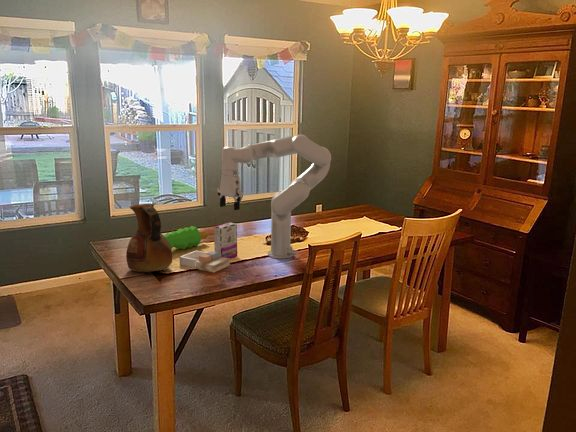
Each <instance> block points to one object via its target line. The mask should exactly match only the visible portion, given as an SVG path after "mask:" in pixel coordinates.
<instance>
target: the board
mask: <svg viewBox="0 0 576 432" xmlns="http://www.w3.org/2000/svg"><path fill="white" fill-rule="evenodd" d="M229 266H231V258H230V259H229V258H224V257H219V256H218V258H216V259H213V260H212V259H211V261H209V262H206V263H205V262H200V261H197V262H196V268H195V269H196V270H201V271H205V272H208V273H209V272H210V273H216V272H219V271H221V270H223V269H224V268H227V267H229Z"/></svg>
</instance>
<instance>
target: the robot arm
mask: <svg viewBox="0 0 576 432" xmlns="http://www.w3.org/2000/svg"><path fill="white" fill-rule="evenodd" d="M295 154H296V155H298V156H300V157H302V158H303V159H305V160H306V161H309V163H312V164H311V165H310V166H309V167H308V168H307V169H306V170H305V171H304V172H302V173H301V174H300V175H299V176H297V177H296V178H295V179H293V180H291V182H290V184H289V186H288V187H287V188H286V189H284V190H282V191H277V192H275V193H274V194H273V196H272V197H271V202H270V208H271V214H270V215H271V219H270V220H271V221H270V223H271V224H270V225H271V226H270V250H269V251H268V252H267V256H268V257H270V258H272V259H278V260H279V259H281V260H282V259H290V258H292V257H293V256H296V255H297V254H298V252H297V251H298V250H297V249H293V246H292V245H291V234H292V233H291V231H292V230H291V228H292V227H291V225H292V211H293V210H294V209H295V208H297V207H298V206H300V204H302V203H303V202H304V201H305V200H306V199H308V197H309V195H310V191H312V190H313V189H314V188H316V186H318V184H319V183H321V182H322V181H323V180H324V179H325V177H326V176H327V175H328V173H329V171H330V168H331V161H332V154H331V152H330V151H329V149H328V148H327V147H325V146H321V145H319V144H318V143H317V142H314V141H312V140H311V139H310V138H308V136H307V135H305V134H300V133H299V134H294V135H290V136H286V137H282V138H281V137H280V138H275V139H272V140H267V141H262V142H258V143H254V144H249V145H246V146H243V147H241V148H238V147H237V146H224V147H223V148H222V153H221V157H222V161H221V162H222V163H221V168H222V169H221V171H222V174H221V178H220V185H219V187H217V188H216V192H217V195H218V198H219V207H220V208H223V207H226V203H227V201H226V197H227V198H233V200H234V202H233V210H234V211H238V210H239V211H240V206H241V205H240V204H241V203H240V202H241V201H242V199H243V197H244V192H242V188H241V187H242V186H241V185H242V184H241V178H240V176H239V174H240V172H239V163H240V164H246V165H247V164H250V163H252V162H253V161H255V160H260V159H265V158H271V159H272V158H274V159H276V158H282V157H287V156H291V155H292V156H293V155H295Z"/></svg>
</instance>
